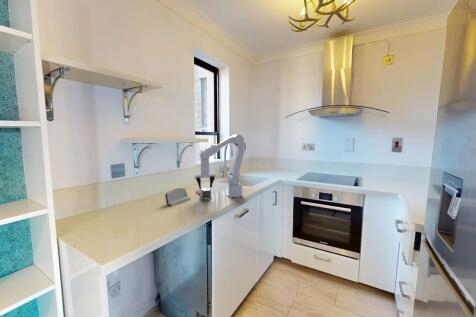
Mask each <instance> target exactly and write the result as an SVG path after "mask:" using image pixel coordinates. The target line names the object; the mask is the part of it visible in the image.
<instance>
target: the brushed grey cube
mask: <svg viewBox="0 0 476 317" xmlns="http://www.w3.org/2000/svg"><path fill="white" fill-rule="evenodd" d="M200 190H201V196H202V198H207V197H211V198H212V190H211V188H210V186H208V187H201V189H200Z"/></svg>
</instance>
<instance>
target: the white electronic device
mask: <svg viewBox="0 0 476 317" xmlns="http://www.w3.org/2000/svg"><path fill="white" fill-rule="evenodd" d="M164 199H165V205H166V206H169V205H170V206H171V207H174V206H177V205H180V204H183V203H186V202H189V201H191V197H189V195H188V193H187V190H186V188H184V187H180V188H179V187H177V188H174V189H171V190H169V191H168V192H166V193H165V194H164Z"/></svg>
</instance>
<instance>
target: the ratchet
mask: <svg viewBox="0 0 476 317" xmlns="http://www.w3.org/2000/svg"><path fill="white" fill-rule="evenodd" d="M195 193H197V195H198V196H199V200H200V201H210V200H212V196H211V197H207V198H202V196H201V189H197V190H195ZM209 199H210V200H209Z"/></svg>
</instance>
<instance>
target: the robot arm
mask: <svg viewBox="0 0 476 317" xmlns="http://www.w3.org/2000/svg"><path fill="white" fill-rule="evenodd" d="M229 144H233V145H235V147H236V148H237V150H236V153H235V154H236V155H235V158H234V162H233V165H232V168H231V171H230V173H229V174H228V175H227V181H228V185H227V187H228V194H226V196H227V197H228V196H229V197H228V198H229V199H233V198H232V197H234V198H241V197H240V196H242V197H243V186H242V184H241V183H240V170H241V166H242V162H243V158H244V155H245V153H246V152H245V151H246V144H245V138H244V137H243V135H241V134H232V136H229V137H227V138H225V139H223V140H222V141H221V142H219V143H218V144H211V145H210V146H209V147H207V148H205V149H204V150H201V151H200V154H199V157H200V174H194V175H193V176H194V179H195V180H196V182H197V185H198V187H199V188H198V190H201V188H202V183H201V182H202V180H201V179H204V178H206V179H207V178H209V189H212V188H213V183H214V181H215V178H216V177H217V174H216V173H210V157H212V156H213V155H215V154H217V153H218V152H219V151H220V149H223V148H224V147H225V146H227V145H229Z"/></svg>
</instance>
